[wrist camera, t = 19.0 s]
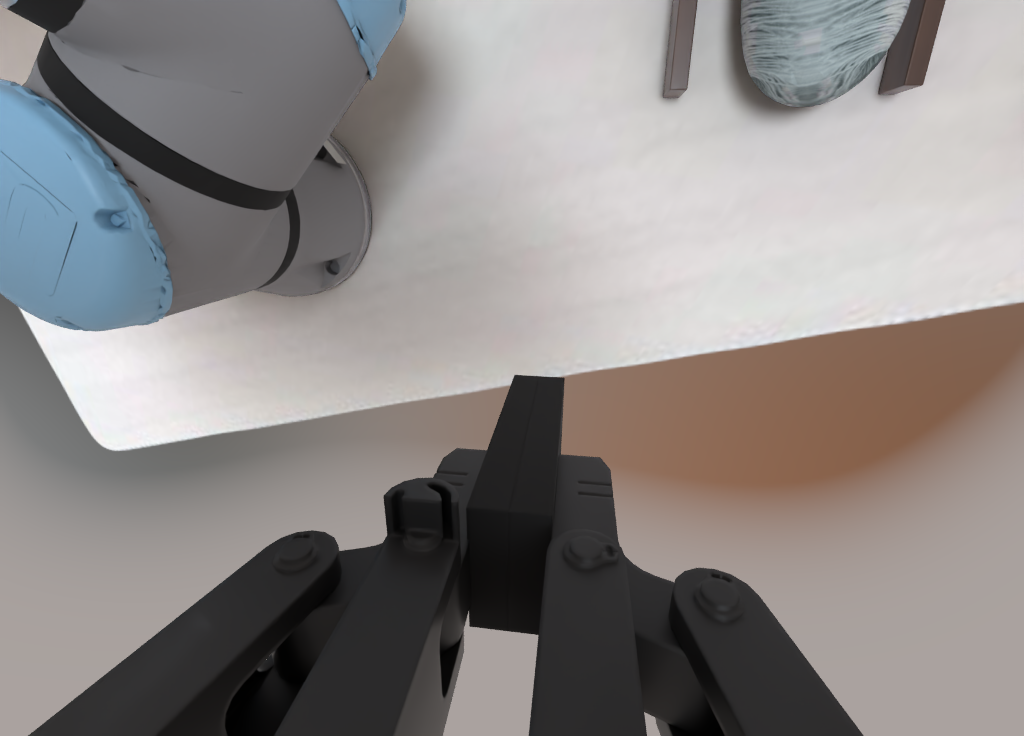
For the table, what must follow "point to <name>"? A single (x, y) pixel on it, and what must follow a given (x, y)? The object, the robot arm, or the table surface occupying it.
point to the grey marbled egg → (816, 45)
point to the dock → (901, 64)
